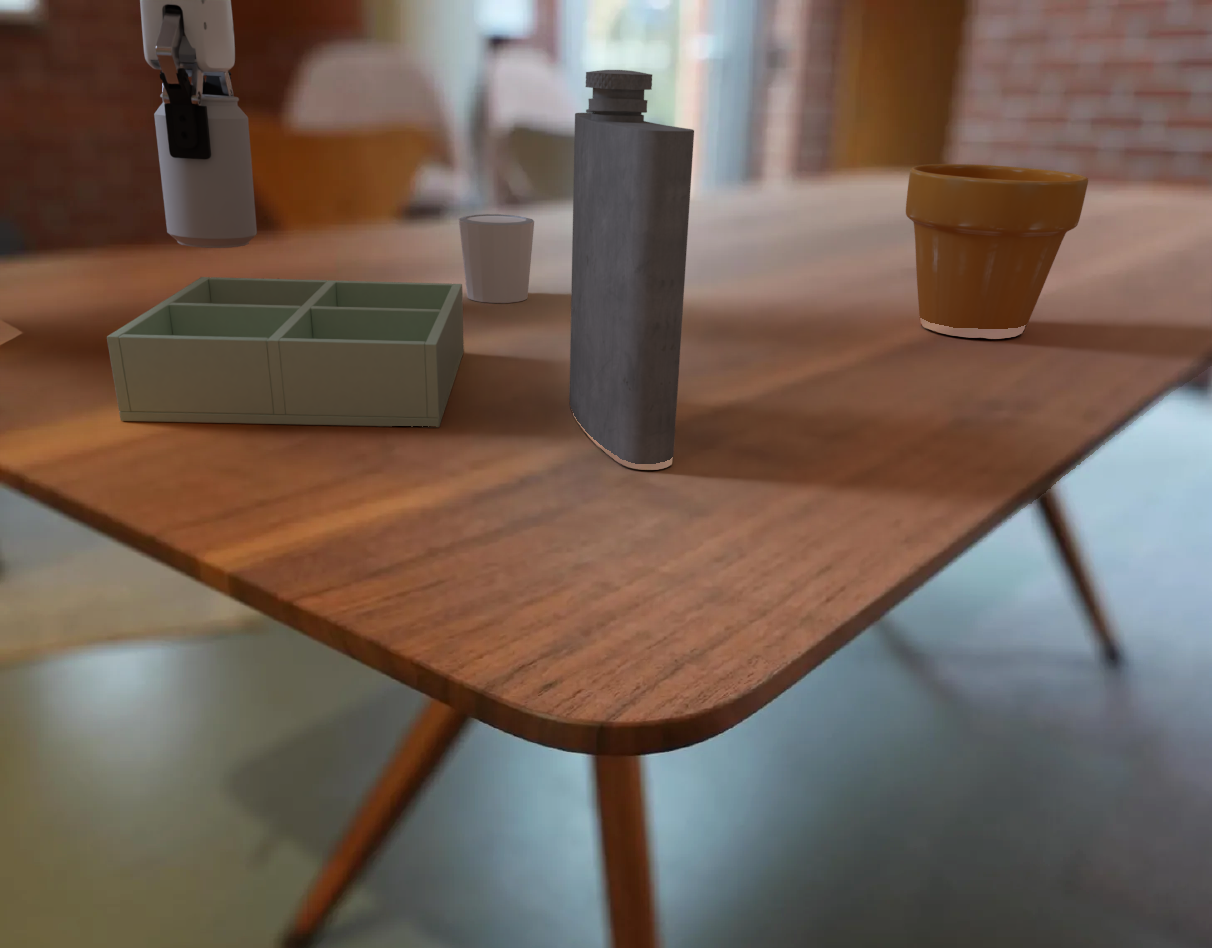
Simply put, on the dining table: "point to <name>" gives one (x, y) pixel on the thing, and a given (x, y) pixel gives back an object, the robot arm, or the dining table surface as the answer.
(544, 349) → the dining table surface
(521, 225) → the shot glass
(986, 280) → the flower pot
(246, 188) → the can
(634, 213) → the hip flask
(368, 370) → the compartment tray
